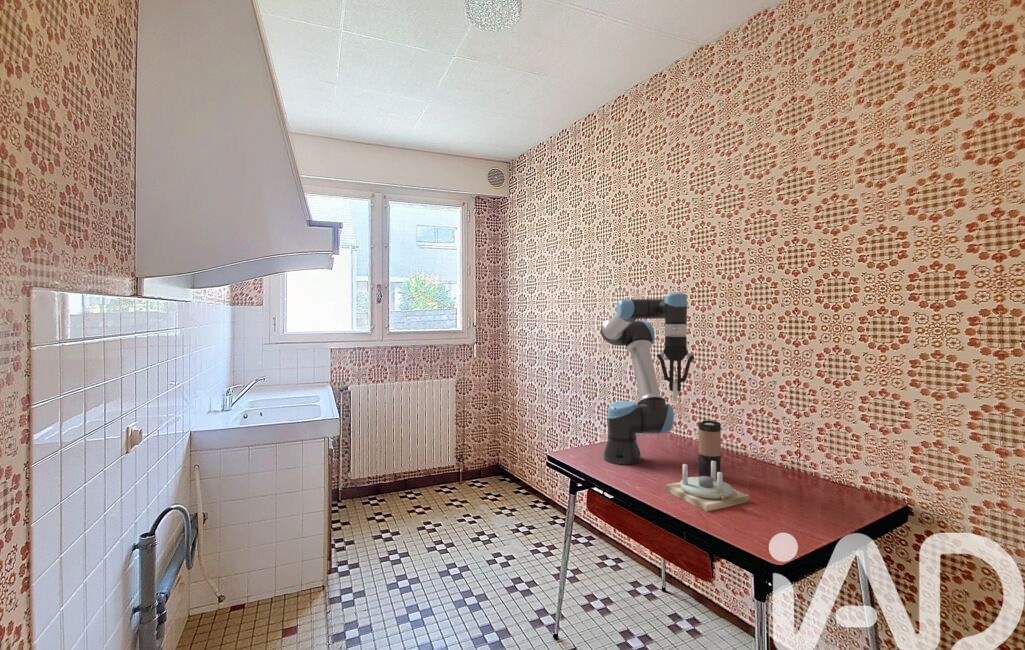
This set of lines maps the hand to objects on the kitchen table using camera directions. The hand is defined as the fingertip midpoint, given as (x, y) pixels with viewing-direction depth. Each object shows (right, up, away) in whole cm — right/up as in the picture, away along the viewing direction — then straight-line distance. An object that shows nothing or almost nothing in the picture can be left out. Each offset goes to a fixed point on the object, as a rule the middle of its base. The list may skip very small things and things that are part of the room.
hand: (675, 399), depth 168 cm
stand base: (+4, -29, -16) cm, 34 cm away
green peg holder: (+4, -27, -16) cm, 32 cm away
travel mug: (+13, -29, +2) cm, 32 cm away
